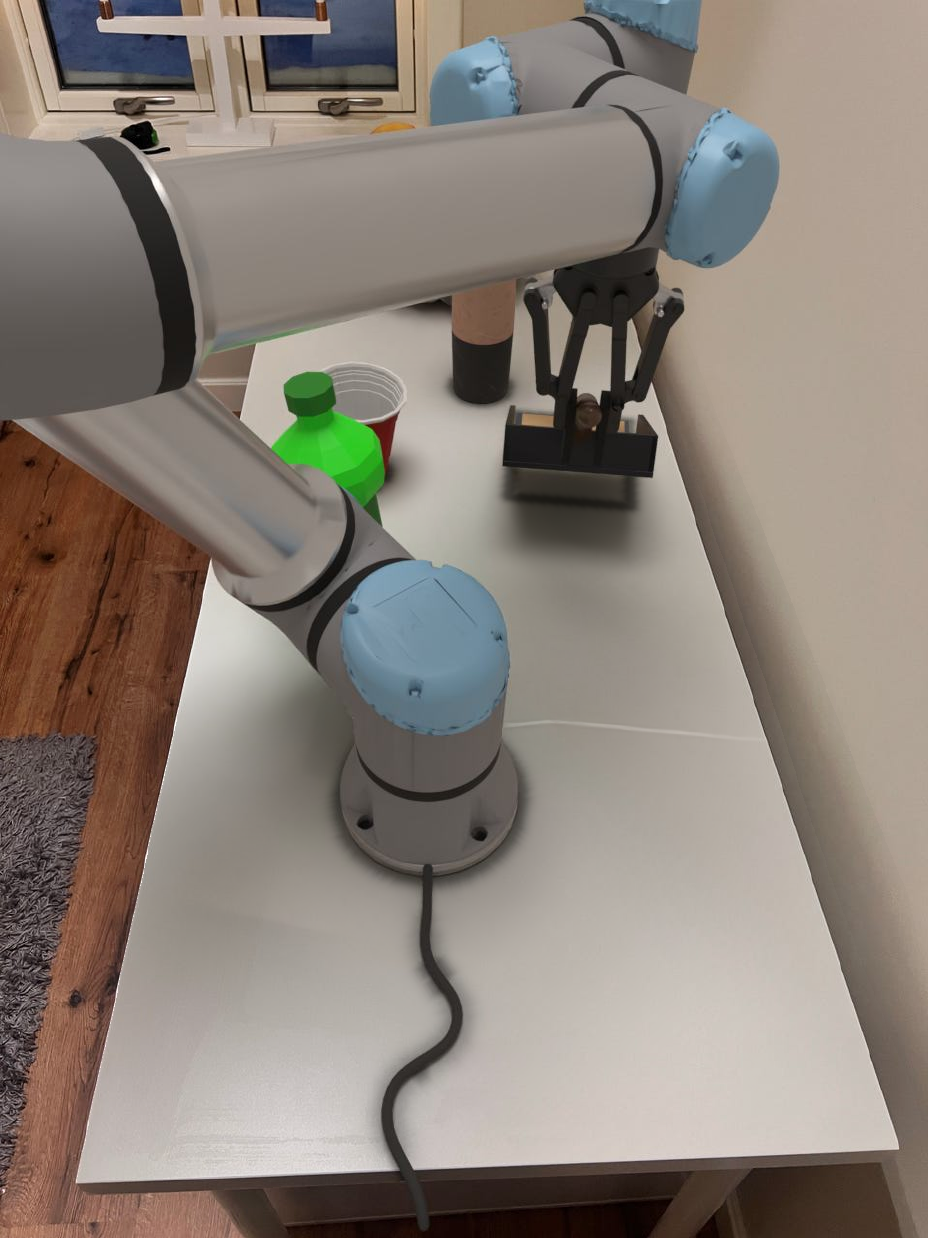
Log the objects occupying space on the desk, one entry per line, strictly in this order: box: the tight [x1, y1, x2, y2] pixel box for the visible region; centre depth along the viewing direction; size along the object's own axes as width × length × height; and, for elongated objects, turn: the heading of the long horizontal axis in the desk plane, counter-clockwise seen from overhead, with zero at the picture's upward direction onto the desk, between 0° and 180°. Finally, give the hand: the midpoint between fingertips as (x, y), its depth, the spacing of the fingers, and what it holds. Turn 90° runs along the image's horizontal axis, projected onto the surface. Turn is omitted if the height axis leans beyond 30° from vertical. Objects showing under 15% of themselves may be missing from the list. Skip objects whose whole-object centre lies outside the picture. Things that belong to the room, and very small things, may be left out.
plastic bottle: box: [270, 371, 386, 528], centre depth 88 cm, size 10×10×25 cm
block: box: [521, 413, 554, 427], centre depth 112 cm, size 4×4×4 cm
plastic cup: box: [317, 361, 408, 476], centre depth 106 cm, size 11×11×12 cm
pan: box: [501, 392, 659, 479], centre depth 95 cm, size 26×15×8 cm, turn 174°
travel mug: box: [451, 279, 517, 404], centre depth 115 cm, size 8×8×20 cm
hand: (581, 455), depth 89 cm, fingers closed on pan, 2 cm apart
